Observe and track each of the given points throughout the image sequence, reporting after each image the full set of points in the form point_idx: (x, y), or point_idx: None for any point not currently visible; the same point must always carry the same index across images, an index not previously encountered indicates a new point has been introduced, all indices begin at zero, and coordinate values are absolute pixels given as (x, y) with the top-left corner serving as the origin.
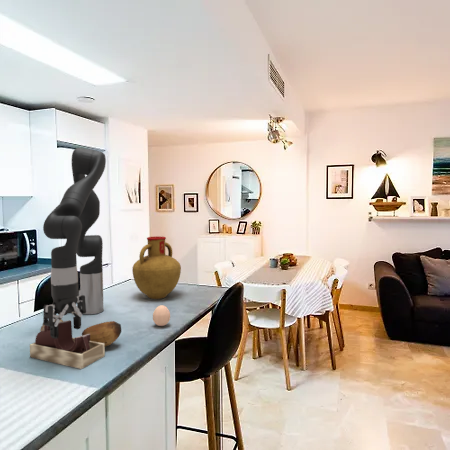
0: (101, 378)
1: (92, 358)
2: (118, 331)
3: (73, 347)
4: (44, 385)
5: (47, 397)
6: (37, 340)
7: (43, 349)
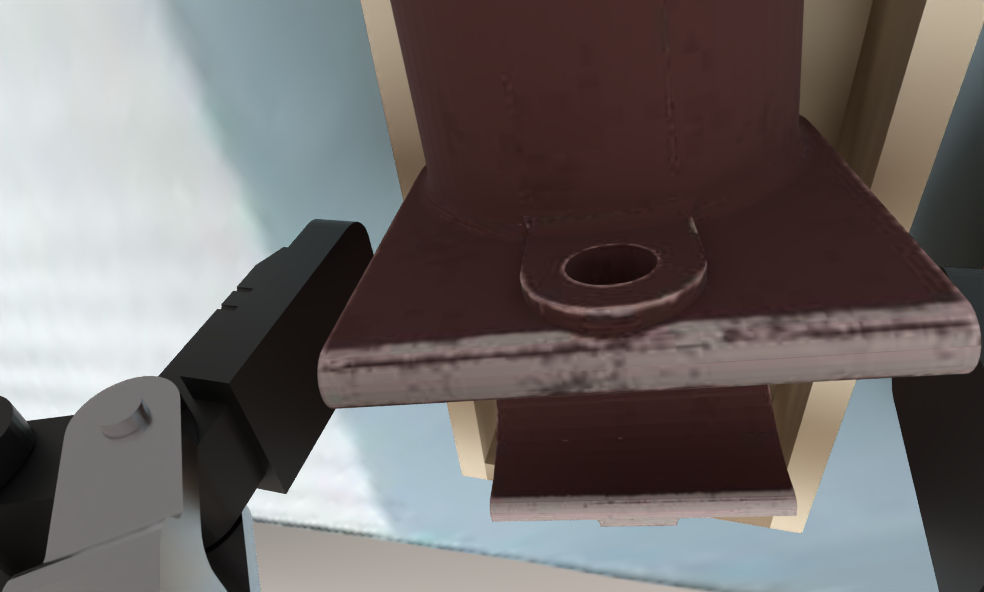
0: (469, 516)
1: None
2: None
3: (498, 401)
4: (213, 311)
5: None
6: None
7: None
